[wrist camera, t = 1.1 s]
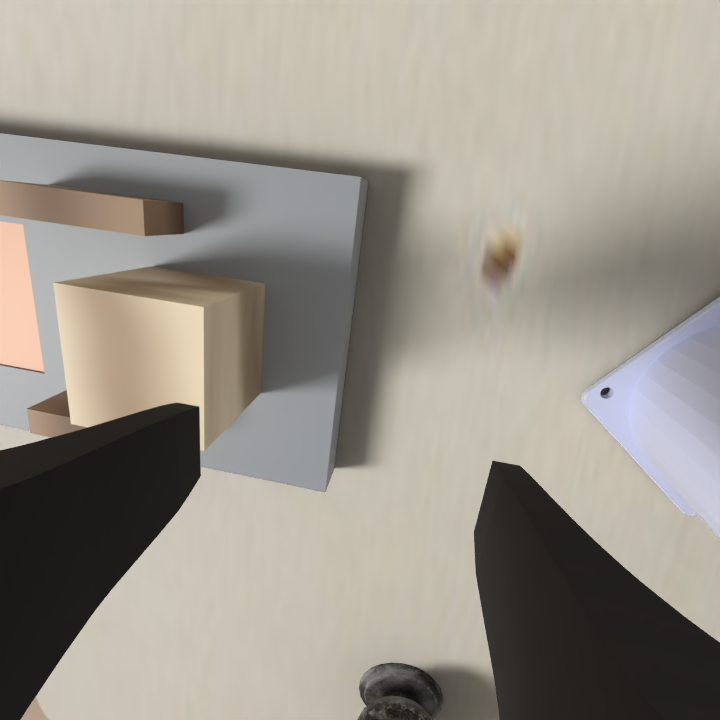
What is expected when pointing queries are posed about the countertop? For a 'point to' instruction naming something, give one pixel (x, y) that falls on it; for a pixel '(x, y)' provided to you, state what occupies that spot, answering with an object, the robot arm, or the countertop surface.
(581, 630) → the robot arm
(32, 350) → the tile
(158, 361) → the block
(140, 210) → the channel walls
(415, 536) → the countertop surface
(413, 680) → the salt shaker
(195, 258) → the deck
